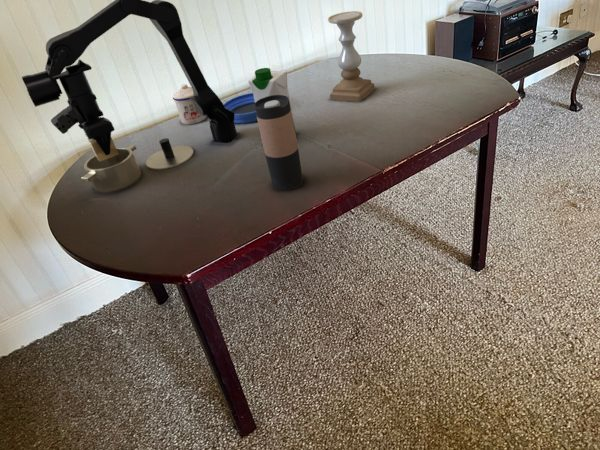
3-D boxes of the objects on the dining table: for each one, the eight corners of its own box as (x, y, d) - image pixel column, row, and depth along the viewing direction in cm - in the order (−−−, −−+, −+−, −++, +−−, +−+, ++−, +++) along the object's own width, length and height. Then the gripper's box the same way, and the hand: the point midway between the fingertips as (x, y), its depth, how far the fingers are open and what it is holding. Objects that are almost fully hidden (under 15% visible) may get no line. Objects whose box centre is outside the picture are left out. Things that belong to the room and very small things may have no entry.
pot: (156, 166, 129) (148, 144, 125) (112, 201, 116) (101, 177, 112) (123, 163, 134) (114, 142, 130) (77, 196, 121) (65, 173, 117)
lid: (203, 150, 133) (197, 130, 129) (175, 173, 123) (168, 153, 120) (167, 147, 138) (160, 129, 135) (137, 170, 129) (129, 150, 125)
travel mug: (271, 177, 113) (253, 98, 101) (302, 172, 113) (288, 92, 101) (272, 193, 107) (253, 111, 95) (305, 187, 106) (290, 104, 95)
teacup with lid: (185, 127, 149) (174, 92, 143) (177, 120, 156) (166, 86, 150) (219, 115, 153) (210, 81, 147) (210, 109, 160) (201, 75, 154)
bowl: (214, 124, 148) (211, 113, 146) (240, 102, 161) (238, 92, 159) (264, 125, 141) (262, 114, 139) (287, 101, 154) (285, 91, 152)
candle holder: (375, 88, 150) (370, 9, 137) (360, 102, 143) (353, 20, 130) (345, 87, 156) (337, 11, 142) (329, 99, 149) (319, 21, 135)
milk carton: (259, 145, 129) (243, 73, 118) (274, 131, 136) (259, 62, 124) (287, 146, 126) (273, 73, 114) (301, 132, 132) (289, 61, 121)
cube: (113, 148, 123) (106, 131, 120) (118, 154, 120) (111, 136, 117) (95, 155, 121) (87, 138, 119) (99, 161, 118) (91, 143, 115)
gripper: (39, 95, 115) (67, 152, 124) (50, 113, 101) (81, 175, 110) (84, 81, 119) (108, 137, 128) (101, 96, 105) (126, 158, 114)
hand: (105, 151), depth 120 cm, fingers closed on cube, 5 cm apart
